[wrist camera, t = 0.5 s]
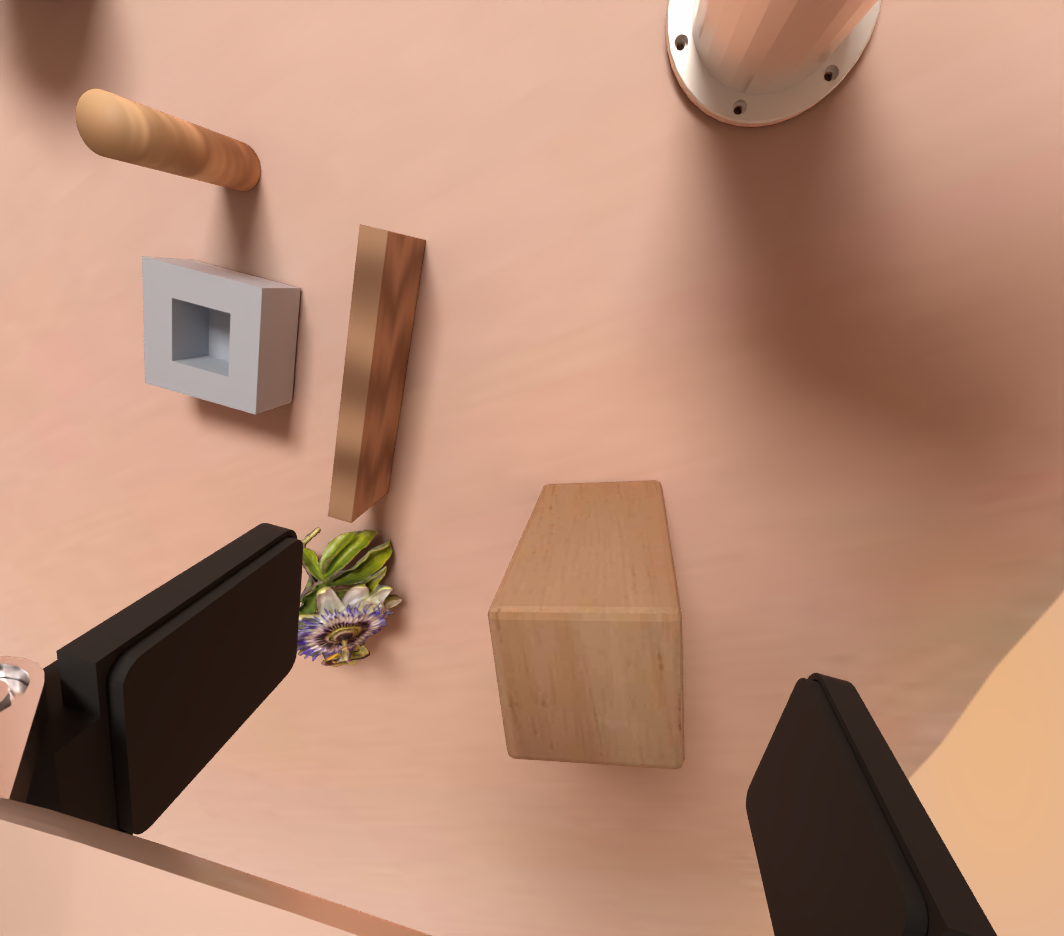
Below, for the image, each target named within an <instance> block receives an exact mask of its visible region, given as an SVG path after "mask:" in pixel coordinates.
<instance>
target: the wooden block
mask: <svg viewBox="0 0 1064 936" xmlns="http://www.w3.org/2000/svg"><path fill="white" fill-rule="evenodd" d="M488 618H489V625H490V632H491V639H492V646H493V653H494V660H495V667H496V675H497V682H498V689H499V696H500V703H501V710H502V717H503V724H504V731H505V738H506V745H507V751H508V754H509V756H510V757H512V758H515V759H529V760H544V761H560V762H575V763H590V764H606V765H621V766H637V767H652V768H668V769H677V768H681V766H682V764H683V762H684V708H683V657H682V615H681V608H680V602H679V595H678V589H677V582H676V576H675V569H674V563H673V556H672V550H671V543H670V537H669V530H668V524H667V517H666V511H665V504H664V498H663V491H662V486H661V484H660V482H658V481H629V482H601V483H574V484H548V485H546V486H544V487H543V490H542V492H541V494H540V496H539V499H538V501H537V503H536V505H535V508H534V510H533V512H532V514H531V517H530V519H529V521H528V523H527V526H526V528H525V530H524V532H523V535H522V537H521V539H520V541H519V544H518V546H517V548H516V550H515V553H514V555H513V557H512V559H511V562H510V564H509V566H508V568H507V571H506V573H505V575H504V577H503V580H502V582H501V584H500V586H499V589H498V591H497V593H496V595H495V598H494V600H493V602H492V604H491V607H490V609H489V612H488Z"/></svg>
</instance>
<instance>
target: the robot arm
mask: <svg viewBox="0 0 1064 936" xmlns="http://www.w3.org/2000/svg"><path fill="white" fill-rule="evenodd" d="M881 3H882V0H668V6H667V15H666V42H667V51H668V55H669V59H670V63H671V67H672V70H673V72H674V74H675V76H676V79H677V81H678V83H679V85H680V87H681V88H682V90H683V91H684V92H685V94H686V95H687V96H688V98H689V99H690V100H691V101H692V102H693V103H694V104H695V105H696V106H697V107H698V108H699V109H701V110H702V111H703V112H704V113H706V114H708V115H709V116H711V117H713V118H715V119H717V120H719V121H721V122H725V123H728V124H732V125H735V126H746V127H759V126H766V125H772V124H777V123H779V122H782V121H785V120H788V119H790V118H793V117H795V116H797V115H799V114H801V113H802V112H804V111H806V110H808V109H809V108H811V107H813V106H814V105H815V104H817V103H818V102H819V101H820V100H822V99H823V98H824V97H825V96H826V95H828V94H829V93H830V92H831V91H832V90H833V89H834V88H835V87H836V86H837V85H838V84H839V83H840V82H841V81H842V80H843V79H844V78H845V76H846V75H847V74H848V72H849V71H850V70H851V69H852V67H853V66H854V65H855V63H856V62H857V61H858V59H859V58H860V56H861V54H862V52H863V50H864V49H865V47H866V45H867V43H868V41H869V40H870V38H871V35H872V32H873V30H874V27H875V24H876V22H877V19H878V16H879V13H880V8H881ZM679 44H682V45H683V46H684V49H683V50H681V51H679V50H677V48H676V47H677V45H679ZM825 74H828V75H830V77H831V78H830V81H826V80H825V78H824V75H825ZM737 107H739V108H740V109H741V113H740V114H739V115H736V114H735V113H734V109H735V108H737ZM302 562H303V543H302V541H301V540H298V539H297V535H296V533H295V532H294V531H293V530H290V529H287V528H283V527H279V526H276V525H272V524H268V523H262V524H260V525H258V526H256V527H255V528H253V529H252V530H250V531H248V532H247V533H245V534H244V535H242V536H240V537H239V538H237V539H236V540H234V541H232V542H231V543H229V544H228V545H226V546H224V547H223V548H221V549H220V550H218V551H216V552H215V553H213V554H211V555H210V556H208V557H207V558H205V559H203V560H202V561H200V562H199V563H197V564H195V565H194V566H192V567H191V568H189V569H187V570H186V571H184V572H183V573H181V574H179V575H178V576H176V577H175V578H173V579H171V580H170V581H168V582H167V583H165V584H163V585H162V586H160V587H159V588H157V589H155V590H154V591H152V592H151V593H149V594H147V595H146V596H144V597H142V598H141V599H139V600H138V601H136V602H134V603H133V604H131V605H130V606H128V607H126V608H125V609H123V610H122V611H120V612H118V613H117V614H115V615H114V616H112V617H110V618H109V619H107V620H106V621H104V622H102V623H101V624H99V625H98V626H96V627H94V628H93V629H91V630H90V631H88V632H86V633H85V634H83V635H82V636H80V637H78V638H77V639H75V640H73V641H72V642H70V643H69V644H67V645H65V646H64V647H62V648H61V649H59V650H57V659H58V660H56V661H55V662H53V663H52V664H50V665H48V666H47V667H45V668H44V669H42V668H41V667H40V666H39V664H38V663H36V662H33V661H31V660H28V659H26V658H20V657H11V656H2V657H0V936H431V935H428V934H425V933H422V932H419V931H416V930H413V929H410V928H407V927H405V926H402V925H399V924H396V923H393V922H390V921H387V920H384V919H381V918H378V917H375V916H372V915H369V914H366V913H364V912H361V911H358V910H355V909H352V908H349V907H346V906H343V905H340V904H337V903H334V902H331V901H328V900H325V899H322V898H319V897H316V896H313V895H310V894H308V893H305V892H302V891H299V890H296V889H293V888H290V887H287V886H284V885H281V884H278V883H275V882H272V881H269V880H266V879H263V878H260V877H257V876H254V875H251V874H248V873H245V872H242V871H239V870H236V869H233V868H230V867H227V866H224V865H221V864H218V863H215V862H212V861H209V860H206V859H203V858H200V857H197V856H194V855H191V854H188V853H185V852H182V851H179V850H176V849H173V848H170V847H167V846H164V845H161V844H158V843H155V842H152V841H149V840H146V839H143V838H139V837H136V836H133V833H134V834H141V833H143V832H144V831H146V830H147V829H148V828H149V827H150V826H151V825H152V824H153V823H154V822H155V821H156V820H157V819H158V818H159V817H160V816H161V814H162V813H163V812H164V811H165V810H166V809H167V808H168V807H169V806H170V804H171V803H172V802H173V801H174V800H175V799H176V798H177V797H178V796H179V794H180V793H181V792H182V791H183V790H184V789H185V788H186V787H187V786H188V784H189V783H190V782H191V781H192V780H193V779H194V778H195V777H196V776H197V774H198V773H199V772H200V771H201V770H202V769H203V768H204V767H205V765H206V764H207V763H208V762H209V761H210V760H211V759H212V758H213V757H214V755H215V754H216V753H217V752H218V751H219V750H220V749H221V748H222V747H223V745H224V744H225V743H226V742H227V741H228V740H229V739H230V738H231V737H232V735H233V734H234V733H235V732H236V731H237V730H238V729H239V728H240V727H241V725H242V724H243V723H244V722H245V721H246V720H247V719H248V718H249V717H250V715H251V714H252V713H253V712H254V711H255V710H256V709H257V708H258V707H259V705H260V704H261V703H262V702H263V701H264V700H265V699H266V698H267V697H268V695H269V694H270V693H271V692H272V691H273V690H274V689H275V688H276V687H277V685H278V684H279V683H280V682H281V681H282V680H283V679H284V678H285V677H286V675H287V674H288V673H289V672H290V670H291V668H292V667H293V664H294V662H295V659H296V654H297V641H298V625H299V609H300V593H301V578H302ZM746 809H747V815H748V820H749V824H750V828H751V833H752V837H753V842H754V846H755V851H756V855H757V859H758V864H759V868H760V873H761V877H762V881H763V886H764V890H765V895H766V899H767V904H768V908H769V912H770V917H771V921H772V926H773V930H774V935H775V936H997V935H996V933H995V931H994V930H993V928H992V926H991V924H990V923H989V921H988V919H987V917H986V916H985V914H984V912H983V910H982V908H981V907H980V905H979V903H978V902H977V900H976V898H975V896H974V895H973V893H972V891H971V889H970V888H969V886H968V884H967V882H966V881H965V879H964V877H963V875H962V874H961V872H960V870H959V869H958V867H957V865H956V863H955V861H954V860H953V858H952V856H951V855H950V853H949V851H948V849H947V847H946V846H945V844H944V842H943V840H942V839H941V837H940V835H939V834H938V832H937V830H936V828H935V827H934V825H933V823H932V821H931V819H930V818H929V816H928V814H927V813H926V811H925V809H924V807H923V806H922V804H921V802H920V800H919V798H918V797H917V795H916V793H915V791H914V790H913V788H912V786H911V785H910V783H909V781H908V779H907V778H906V776H905V774H904V772H903V771H902V769H901V767H900V765H899V764H898V762H897V760H896V758H895V757H894V755H893V753H892V751H891V750H890V748H889V746H888V744H887V743H886V741H885V739H884V737H883V736H882V734H881V732H880V730H879V729H878V727H877V725H876V723H875V722H874V720H873V718H872V716H871V715H870V713H869V711H868V709H867V708H866V706H865V704H864V702H863V701H862V699H861V697H860V695H859V694H858V692H857V690H856V688H855V687H854V686H853V685H852V683H850V682H848V681H844V680H841V679H837V678H833V677H830V676H826V675H822V674H819V673H813V674H812V675H810V676H809V678H808V679H805V678H801V679H799V680H798V681H797V683H796V685H795V687H794V689H793V691H792V694H791V696H790V698H789V700H788V702H787V705H786V707H785V709H784V711H783V713H782V716H781V718H780V720H779V722H778V724H777V727H776V729H775V731H774V733H773V735H772V738H771V740H770V742H769V744H768V746H767V749H766V751H765V753H764V755H763V757H762V760H761V762H760V764H759V766H758V768H757V771H756V773H755V775H754V777H753V779H752V782H751V784H750V786H749V789H748V792H747V798H746Z"/></svg>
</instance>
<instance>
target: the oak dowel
mask: <svg viewBox="0 0 1064 936" xmlns="http://www.w3.org/2000/svg"><path fill="white" fill-rule="evenodd" d="M76 123H77V127H78V131H79V133H80V135H81V137H82V139H83V141H84V142H85V144H86V145H87V146H88V147H89V148H90V149H91V150H92V151H93V152H95V153H96V154H98V155H100V156H103V157H107V158H111V159H115V160H119V161H123V162H127V163H131V164H135V165H139V166H143V167H147V168H151V169H155V170H159V171H163V172H167V173H171V174H175V175H179V176H183V177H187V178H191V179H195V180H199V181H203V182H207V183H211V184H215V185H219V186H223V187H227V188H231V189H235V190H239V191H248V190H250V189H252V188H254V187H255V186H256V184H257V183H258V181H259V178H260V173H261V167H260V162H259V159H258V156H257V155H256V153H255V151H254V150H253V149H252V148H251V147H250V146H249V145H247V144H245V143H243V142H240V141H238V140H235V139H232V138H230V137H227V136H224V135H222V134H219V133H216V132H214V131H211V130H208V129H206V128H203V127H200V126H198V125H195V124H192V123H190V122H187V121H184V120H182V119H179V118H176V117H174V116H171V115H168V114H166V113H163V112H160V111H158V110H155V109H152V108H150V107H147V106H144V105H142V104H139V103H136V102H134V101H131V100H128V99H126V98H123V97H121V96H118V95H115V94H113V93H110V92H107V91H105V90H101V89H90V90H88V91H86V92H85V93H84V94H83V95H82V96H81V97H80V99H79V101H78V103H77V107H76Z"/></svg>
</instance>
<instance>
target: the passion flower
mask: <svg viewBox="0 0 1064 936" xmlns="http://www.w3.org/2000/svg"><path fill="white" fill-rule="evenodd" d="M320 531H321V529H320V528H315V529H314V530H313V531H312V532H311V533H310V534H308V535H307V536H306V537H305V538H304V539H303V540H301V541H302V543H303V562H302V565H303V567H304V568H305V570H306V572H307V574H308V575H309V580H308V582H307V585H306V587H305V589H304V591H303V593H302V594H301V595H300V602H302V605H301V606H300V609H299V625H298V641H297V651H298V650H300V652H299V653H298V655H299V656H301V655H303V654H305V655H306V656H305V657H304V658H305V659H306V658H307V657H308V656H312V657H313V659H312V661H314V660H315V659H316V657H317V656H318V655H320V654H321V653H322V654H323V656H324V658H325V660H323V661H322V663H321V664H322V665H326V666H328V665H329V666H335V667H338V666H341V665H344V664H349V665H354V664H355V663H356V662H357V661H358V660H359V659H364V658H366V657H368V656H369V655H370V652H369V651H368V650H367V648H366V647H365V646H363V645H364V644H365V640H366V638H368V637H369V636H371V635H372V634H376V633H377V632H378V631H379V630H381V629H380V627H383V626H386V625H387V622H386V619H387V617H388V615H390V614H394V612H391V613H389V611H390V610H388V609H389V608H392V607H394V606H396V605H397V604H399V603H400V602H401V601H402V599H401V598H400V597H399V596H398V595H389V593H390V592H391V591H392V590H393V588H392V587H390V586H386V585H379V582H380V581H381V580H382V579H383V577H384V576H385V574H386V571H387V567H386V566H385V567H384V568H383V569H381V568H382V567H383V565H384V564H385V563H386V561H387V560H388V559H390V556H391V554H392V552H393V550H392V547H391V545H390V542H391V541H390V539H389V540H387V541H386V542H385V543H384V544H381V545H378V546H376V547H374V548H372V549H371V550H369V551H368V552H367V554H366V555H365V556H363V557H362V558H361V559H360V560H359V561H357V562H356V564H355V566H353V567H352V568H350V569H347V570H344V571H343V570H342V569H344V567H345V566H346V565H348V563H349V562H351V561H352V559H353V558H355V557H356V555H357V554H359V552H360V551H361V550H362V549H363V548H366V547H367V546H368V545H369V544H370V542H371V541H372V540H373V539H374V537H375V536H376V535H377V534H378V532H379V531H371V530H364V531H355V532H349V533H345V534H341V535H340V536H338V537H336V538H335V539H334V540H332V541H331V542H329V543H328V545H327V547H326V548H325V550H324V551H323V555H322V557H321V558H320V560H319V562H318V556H317V555H316V554H315V552H314V551H312V550H310V549H308V548H305V547H306V544H307V543H308V542H309V541H310V540H311V539H312V538H313V537H315V536H316V535H317V534H318V533H320ZM379 569H381V570H380V571H379V572H378V573H376V572H377V571H378V570H379ZM374 573H376V574H374ZM372 574H374V575H372ZM371 575H372V576H371ZM370 576H371V577H370ZM361 582H362V583H361ZM359 583H360V584H359ZM353 584H359V585H356V586H352V587H351V588H348V589H342V590H336V591H334V590H333V589H331V587H336V586H338V585H345V586H346V585H353ZM309 592H310V593H309ZM306 594H307V595H306ZM316 610H317V611H318V612H316ZM354 649H358V651H353V650H354Z"/></svg>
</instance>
